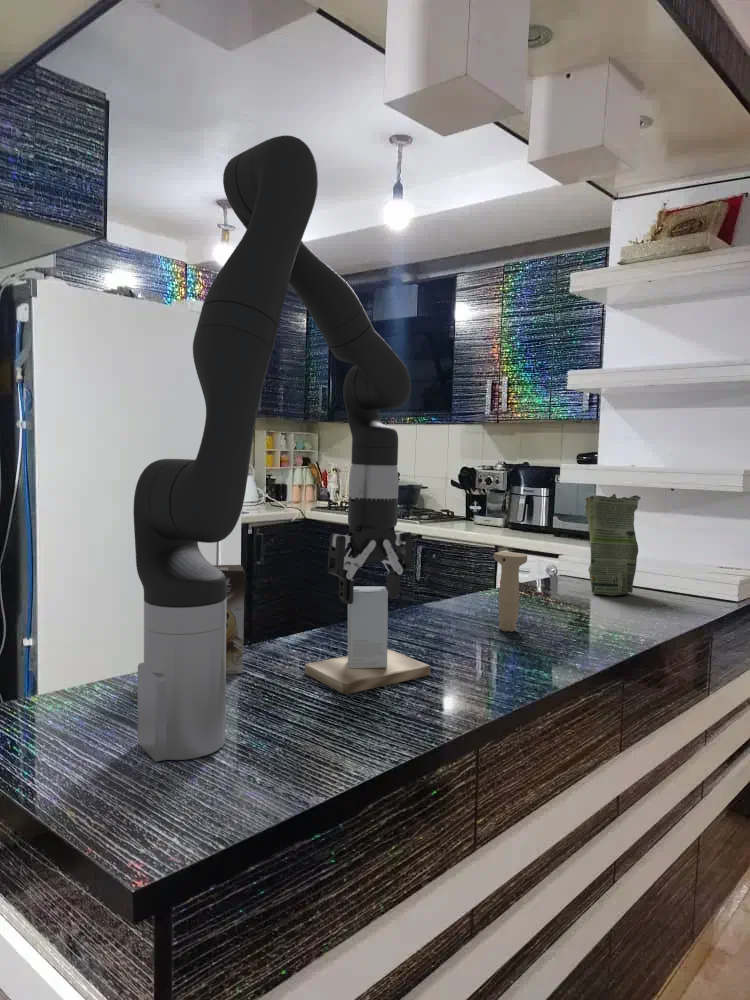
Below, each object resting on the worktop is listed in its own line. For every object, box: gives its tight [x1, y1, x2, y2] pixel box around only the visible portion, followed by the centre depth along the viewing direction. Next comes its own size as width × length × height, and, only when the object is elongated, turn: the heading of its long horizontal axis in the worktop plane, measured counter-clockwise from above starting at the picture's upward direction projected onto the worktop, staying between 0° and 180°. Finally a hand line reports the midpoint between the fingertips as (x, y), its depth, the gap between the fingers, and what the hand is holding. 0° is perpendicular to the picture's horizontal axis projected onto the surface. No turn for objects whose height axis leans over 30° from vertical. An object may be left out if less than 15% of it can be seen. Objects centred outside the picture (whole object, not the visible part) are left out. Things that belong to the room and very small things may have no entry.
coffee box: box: [212, 564, 246, 675], centre depth 110 cm, size 9×6×16 cm
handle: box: [493, 551, 528, 633], centre depth 138 cm, size 5×6×15 cm
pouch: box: [584, 493, 641, 597], centre depth 177 cm, size 11×12×25 cm
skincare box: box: [347, 585, 389, 668], centre depth 109 cm, size 6×4×12 cm
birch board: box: [304, 647, 431, 695], centre depth 109 cm, size 16×11×2 cm
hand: (369, 600), depth 108 cm, fingers open, 8 cm apart
